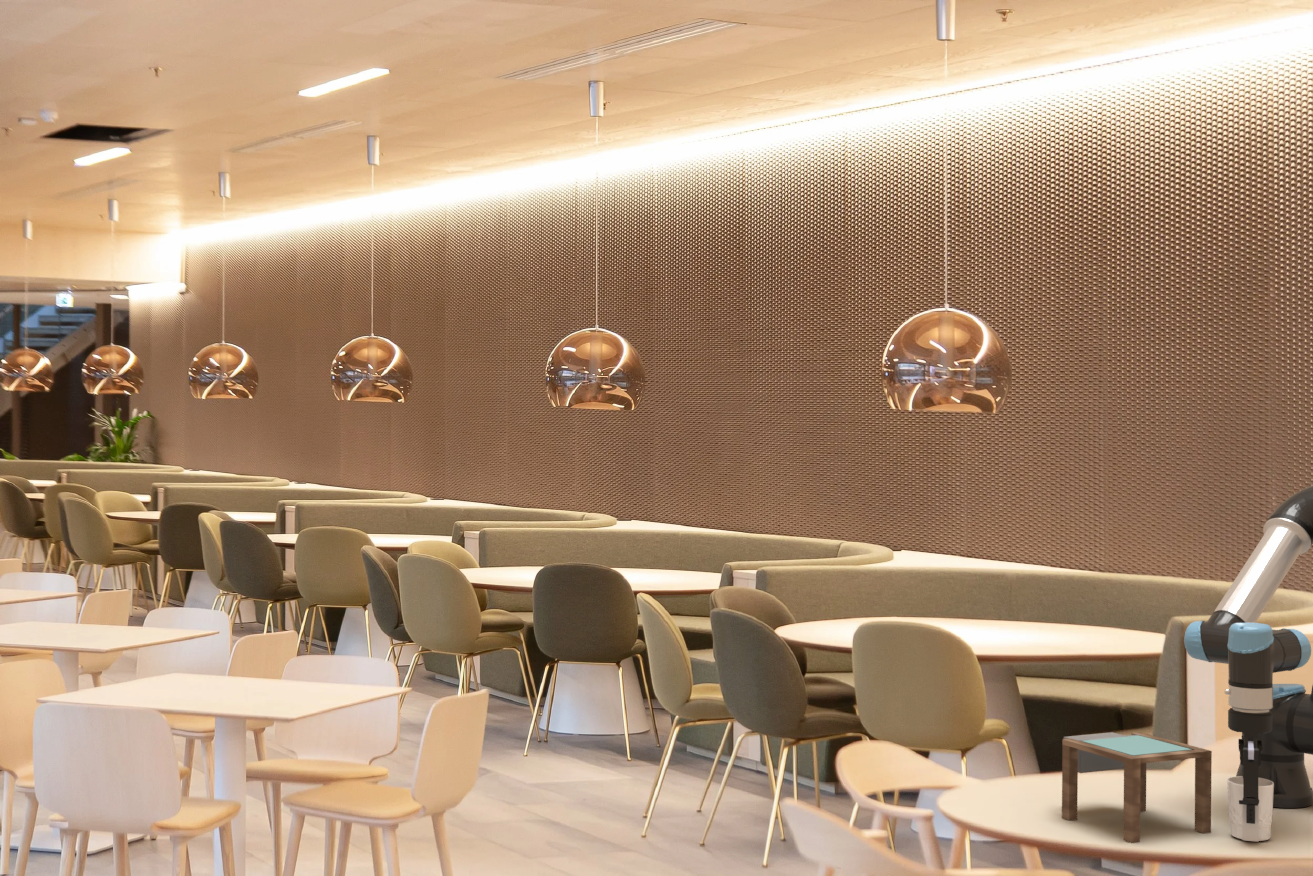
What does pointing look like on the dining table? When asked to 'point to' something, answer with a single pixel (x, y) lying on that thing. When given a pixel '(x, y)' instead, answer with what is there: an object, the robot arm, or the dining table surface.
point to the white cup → (1264, 806)
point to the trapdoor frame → (1138, 781)
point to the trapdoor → (1118, 750)
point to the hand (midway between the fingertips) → (1250, 834)
